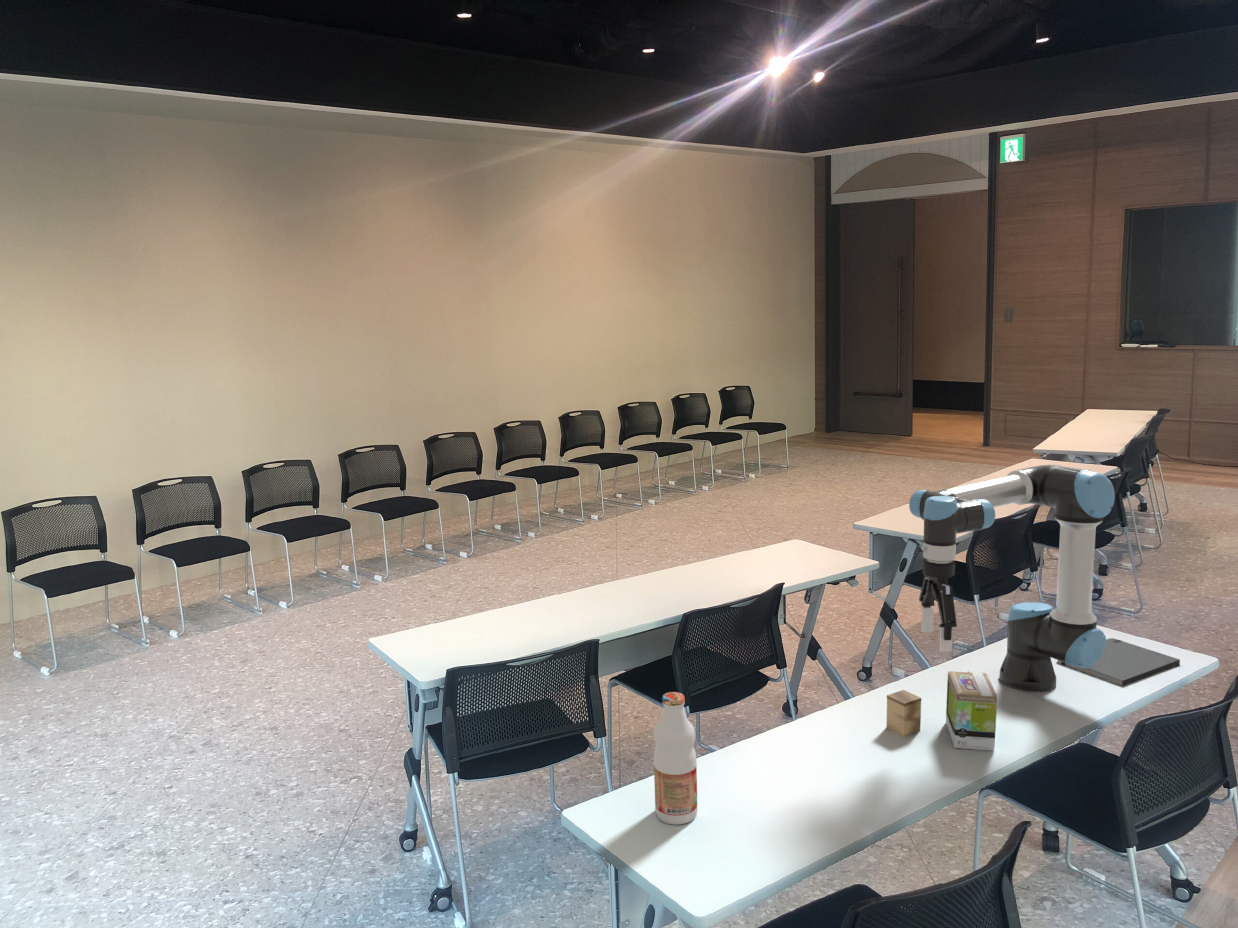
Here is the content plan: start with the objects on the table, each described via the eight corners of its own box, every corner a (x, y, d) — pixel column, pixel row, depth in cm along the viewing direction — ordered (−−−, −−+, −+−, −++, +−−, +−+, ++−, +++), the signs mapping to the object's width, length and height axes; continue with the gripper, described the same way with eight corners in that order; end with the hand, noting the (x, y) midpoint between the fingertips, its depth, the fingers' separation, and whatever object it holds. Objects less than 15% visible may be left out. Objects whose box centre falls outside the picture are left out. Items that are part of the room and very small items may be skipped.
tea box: (996, 751, 227) (998, 695, 225) (953, 749, 229) (955, 693, 227) (984, 724, 242) (986, 671, 239) (944, 721, 244) (946, 669, 241)
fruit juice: (646, 811, 206) (643, 694, 201) (679, 798, 211) (676, 683, 206) (672, 830, 198) (669, 709, 193) (706, 815, 203) (704, 697, 199)
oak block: (902, 721, 245) (903, 689, 243) (920, 730, 239) (921, 697, 238) (886, 727, 242) (886, 695, 240) (903, 736, 237) (904, 703, 235)
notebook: (1122, 687, 262) (1179, 666, 275) (1122, 680, 261) (1180, 659, 275) (1054, 663, 280) (1111, 643, 294) (1054, 656, 280) (1111, 637, 293)
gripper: (908, 546, 238) (905, 624, 242) (940, 574, 214) (938, 660, 217) (937, 545, 238) (934, 623, 242) (973, 573, 214) (969, 659, 217)
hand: (936, 641), depth 230 cm, fingers open, 13 cm apart
